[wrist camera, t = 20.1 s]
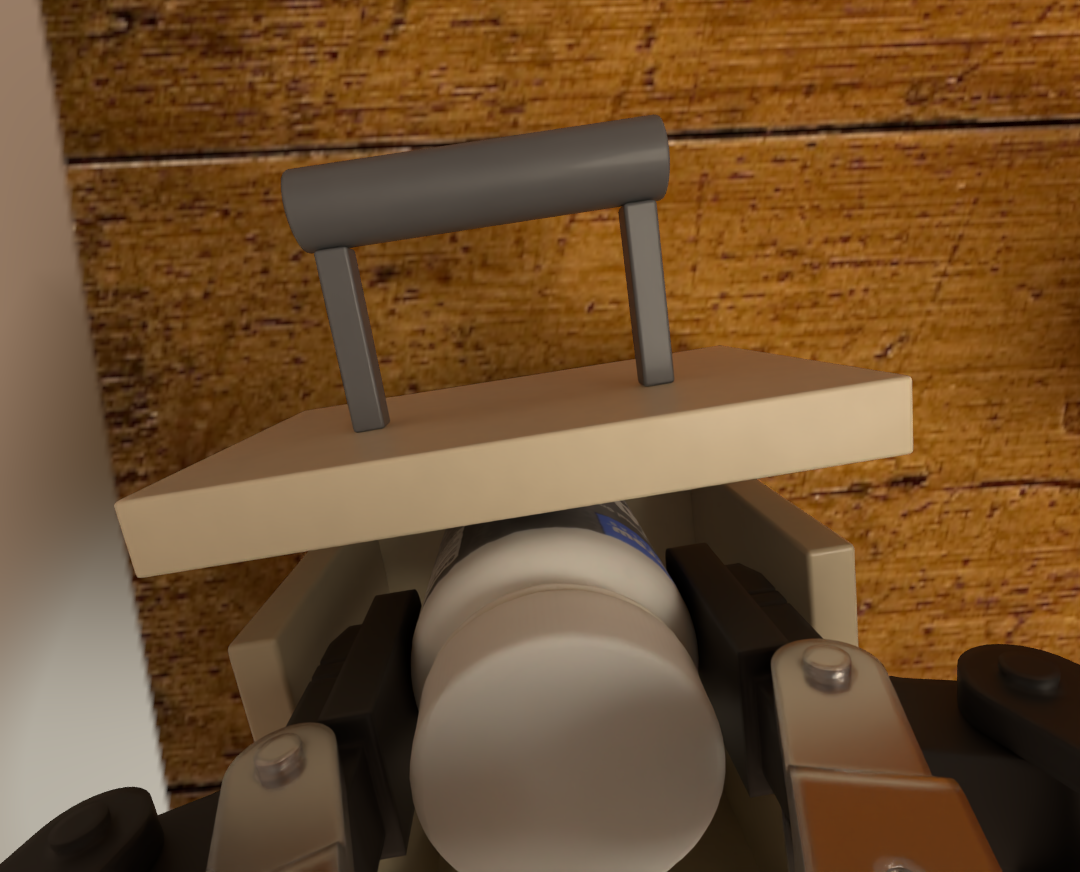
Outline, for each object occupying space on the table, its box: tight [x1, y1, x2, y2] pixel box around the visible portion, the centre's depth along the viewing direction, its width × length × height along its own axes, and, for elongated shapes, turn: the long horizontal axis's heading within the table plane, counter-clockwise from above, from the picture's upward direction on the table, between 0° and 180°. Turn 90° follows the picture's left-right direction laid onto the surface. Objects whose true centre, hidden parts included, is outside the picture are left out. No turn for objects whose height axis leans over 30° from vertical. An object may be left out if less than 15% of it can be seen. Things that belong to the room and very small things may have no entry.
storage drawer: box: [114, 115, 913, 872], centre depth 13 cm, size 18×12×8 cm, turn 9°
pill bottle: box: [409, 500, 726, 872], centre depth 11 cm, size 5×5×8 cm
